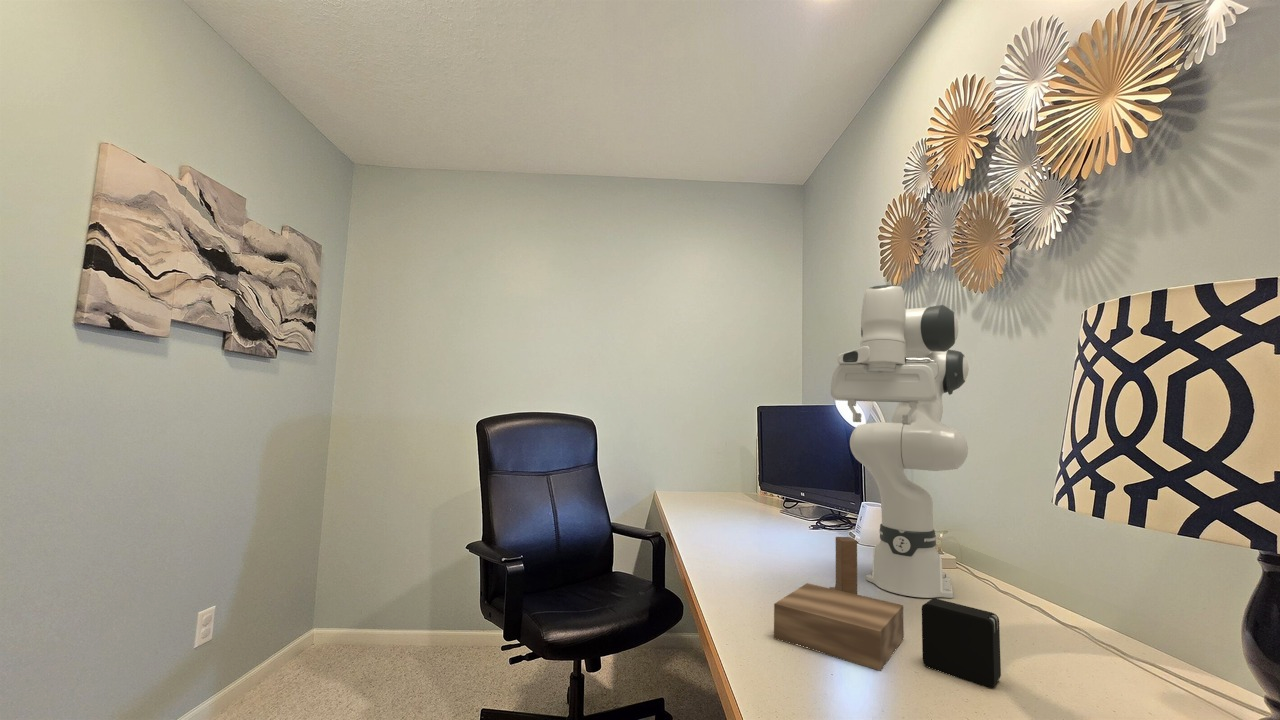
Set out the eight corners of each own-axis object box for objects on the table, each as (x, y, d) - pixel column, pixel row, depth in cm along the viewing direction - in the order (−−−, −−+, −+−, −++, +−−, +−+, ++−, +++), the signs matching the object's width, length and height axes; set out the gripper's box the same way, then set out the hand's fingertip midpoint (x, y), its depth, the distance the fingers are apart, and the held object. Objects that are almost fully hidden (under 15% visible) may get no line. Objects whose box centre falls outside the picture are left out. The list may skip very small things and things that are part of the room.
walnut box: (806, 613, 108) (806, 583, 109) (903, 639, 97) (903, 605, 98) (773, 638, 96) (774, 603, 96) (880, 670, 85) (880, 631, 85)
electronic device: (931, 658, 90) (929, 596, 91) (1001, 681, 83) (999, 614, 84) (922, 666, 87) (921, 602, 88) (994, 690, 80) (992, 620, 81)
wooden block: (858, 616, 108) (857, 540, 109) (842, 616, 107) (841, 540, 109) (844, 605, 114) (843, 533, 116) (828, 604, 114) (828, 532, 115)
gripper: (939, 360, 111) (939, 427, 108) (835, 361, 121) (833, 422, 119) (938, 354, 105) (938, 424, 103) (830, 355, 116) (827, 419, 113)
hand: (881, 423), depth 111 cm, fingers open, 8 cm apart
